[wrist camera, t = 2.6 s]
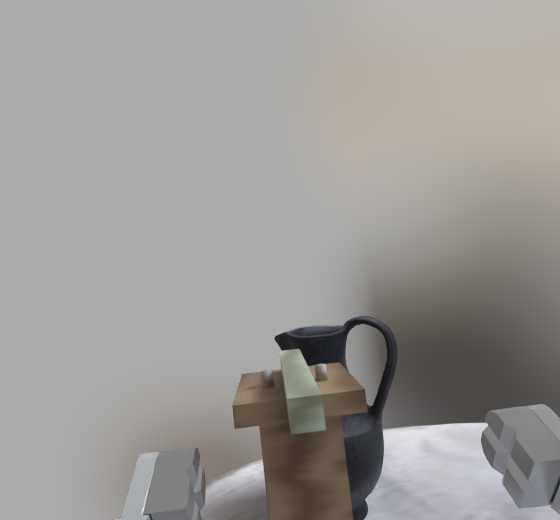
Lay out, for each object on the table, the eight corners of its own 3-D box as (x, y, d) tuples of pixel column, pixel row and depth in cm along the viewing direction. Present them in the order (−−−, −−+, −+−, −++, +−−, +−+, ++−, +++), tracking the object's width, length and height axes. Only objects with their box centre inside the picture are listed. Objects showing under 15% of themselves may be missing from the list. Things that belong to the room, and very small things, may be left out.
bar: (301, 368, 44) (299, 348, 44) (325, 430, 25) (321, 394, 25) (281, 371, 44) (279, 351, 44) (291, 434, 25) (287, 398, 25)
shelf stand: (366, 585, 43) (337, 350, 45) (403, 698, 31) (362, 372, 33) (265, 599, 43) (241, 361, 45) (264, 720, 31) (230, 388, 33)
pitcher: (305, 476, 69) (287, 317, 71) (422, 488, 61) (397, 308, 63) (265, 538, 53) (244, 331, 55) (416, 565, 45) (384, 322, 47)
